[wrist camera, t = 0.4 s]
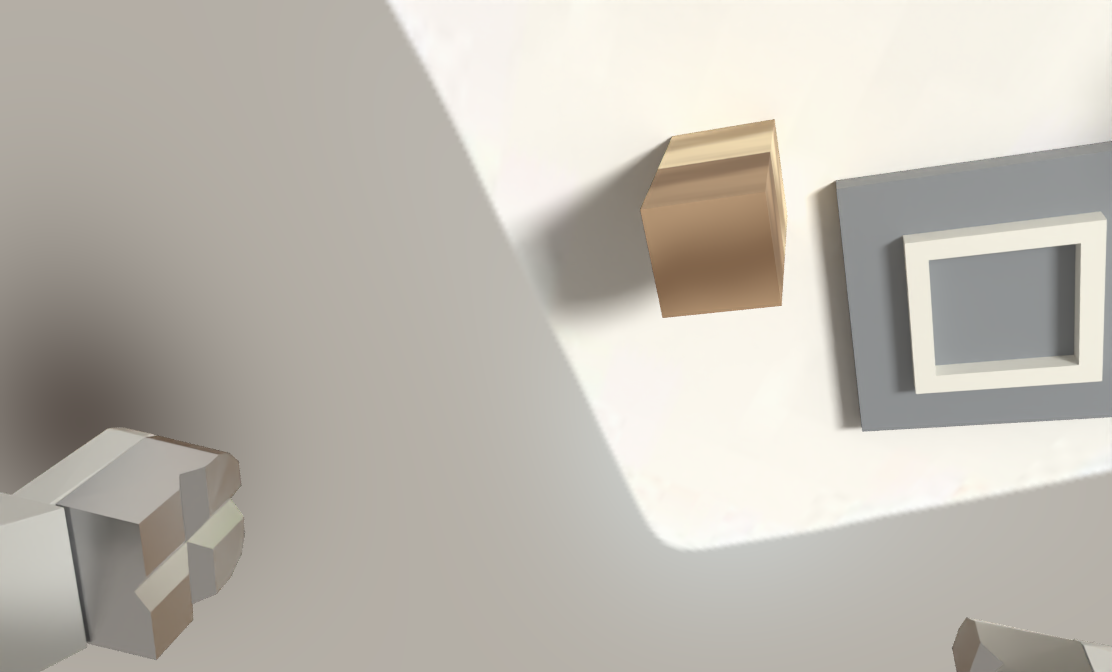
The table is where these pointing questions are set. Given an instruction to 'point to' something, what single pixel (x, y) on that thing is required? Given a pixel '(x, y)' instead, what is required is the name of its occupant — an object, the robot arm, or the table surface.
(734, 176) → the block stack
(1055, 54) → the table surface
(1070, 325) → the slate plate
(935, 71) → the table surface
